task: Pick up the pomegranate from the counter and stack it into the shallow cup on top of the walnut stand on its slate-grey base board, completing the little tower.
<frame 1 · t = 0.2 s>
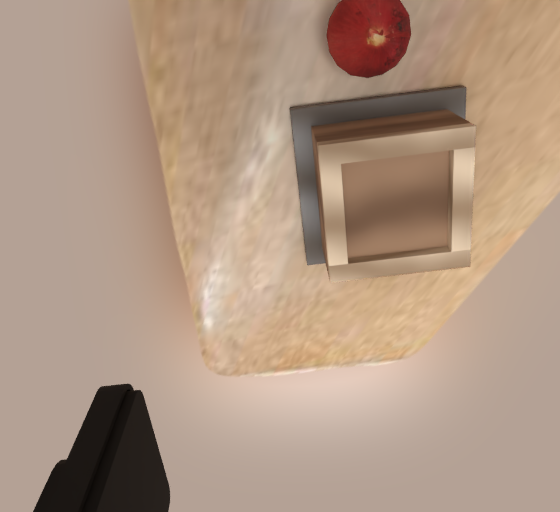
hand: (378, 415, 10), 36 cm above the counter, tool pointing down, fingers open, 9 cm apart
stand: (378, 179, 46), on the counter
pomegranate: (359, 31, 41), on the counter
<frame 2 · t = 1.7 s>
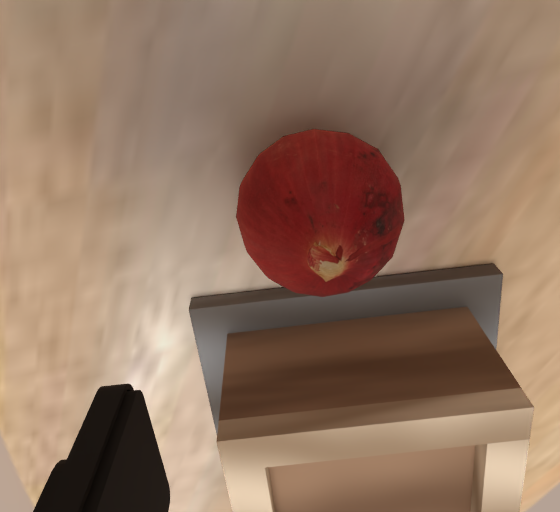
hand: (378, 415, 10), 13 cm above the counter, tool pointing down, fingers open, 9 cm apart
stand: (349, 397, 27), on the counter
pomegranate: (310, 178, 22), on the counter
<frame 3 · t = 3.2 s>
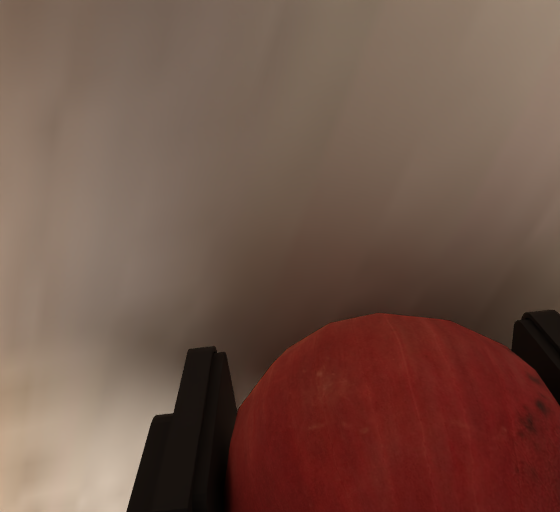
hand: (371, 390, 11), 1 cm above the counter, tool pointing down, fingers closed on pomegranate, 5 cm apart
pomegranate: (360, 350, 12), on the counter, touching gripper
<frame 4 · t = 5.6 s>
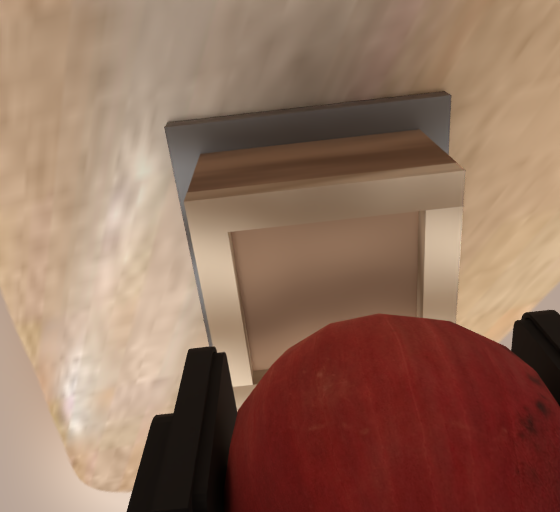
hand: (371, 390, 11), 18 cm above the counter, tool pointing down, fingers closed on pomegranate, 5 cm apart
stand: (315, 232, 30), on the counter
pomegranate: (360, 350, 12), point 17 cm above the counter, touching gripper
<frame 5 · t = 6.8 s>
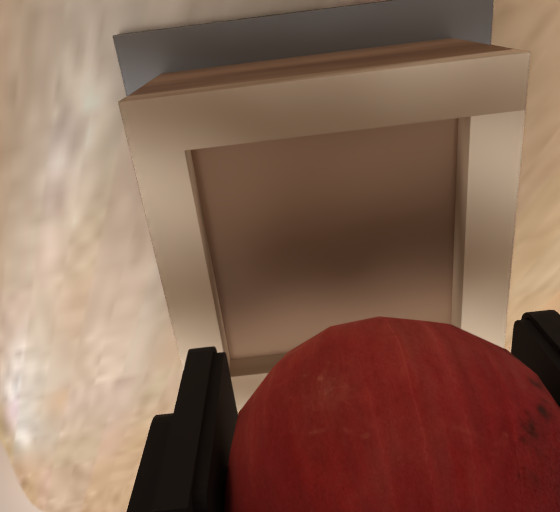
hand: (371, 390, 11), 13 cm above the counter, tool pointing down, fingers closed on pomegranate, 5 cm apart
stand: (315, 186, 23), on the counter
pomegranate: (361, 352, 12), point 12 cm above the counter, touching gripper
when the fingers open (9 cm above the counter, at t = 7.9 s): pomegranate drops 2 cm, resting on stand.
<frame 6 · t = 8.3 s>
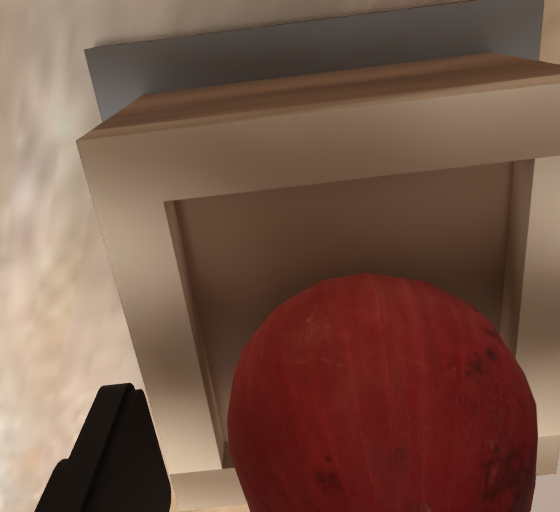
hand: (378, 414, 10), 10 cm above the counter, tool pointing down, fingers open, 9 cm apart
stand: (325, 223, 20), on the counter
pomegranate: (354, 306, 14), point 6 cm above the counter, touching stand
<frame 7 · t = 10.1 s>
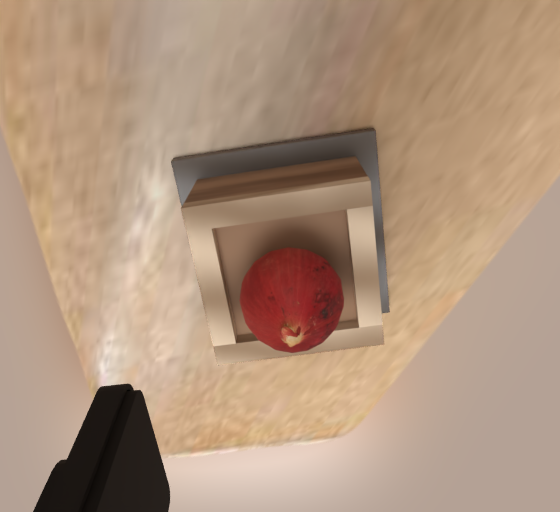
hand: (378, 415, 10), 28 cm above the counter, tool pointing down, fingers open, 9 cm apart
stand: (286, 236, 39), on the counter
pomegranate: (289, 269, 33), point 6 cm above the counter, touching stand
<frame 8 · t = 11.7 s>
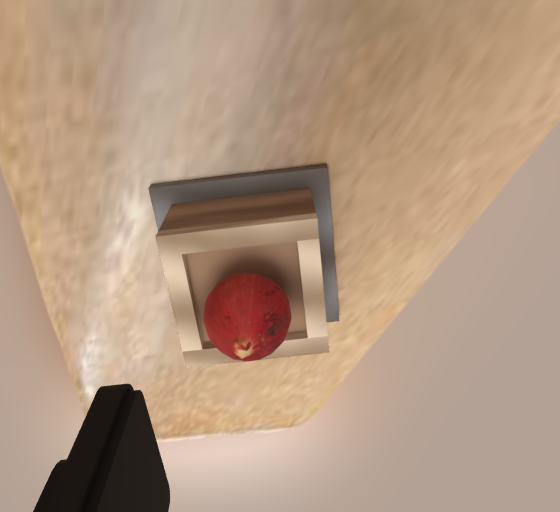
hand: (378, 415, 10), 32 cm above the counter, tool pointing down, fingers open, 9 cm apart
stand: (250, 253, 44), on the counter
pomegranate: (249, 287, 39), point 6 cm above the counter, touching stand
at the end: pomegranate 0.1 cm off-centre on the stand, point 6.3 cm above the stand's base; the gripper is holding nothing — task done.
